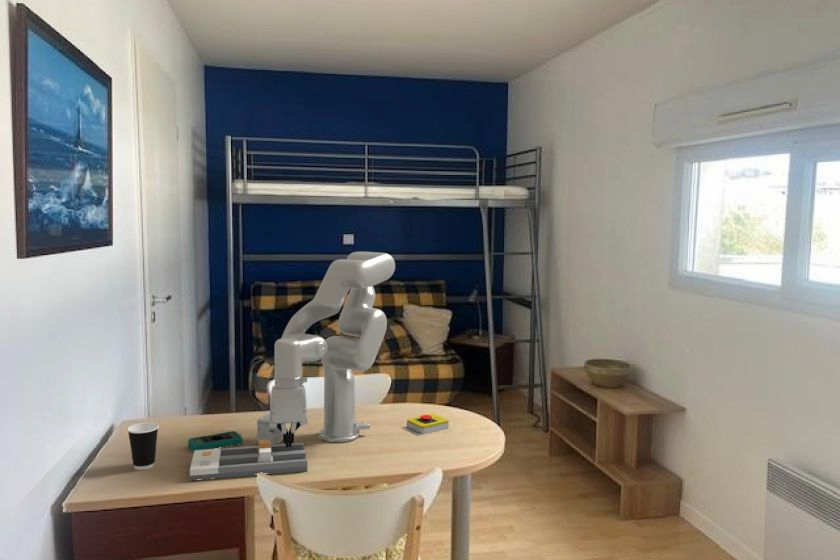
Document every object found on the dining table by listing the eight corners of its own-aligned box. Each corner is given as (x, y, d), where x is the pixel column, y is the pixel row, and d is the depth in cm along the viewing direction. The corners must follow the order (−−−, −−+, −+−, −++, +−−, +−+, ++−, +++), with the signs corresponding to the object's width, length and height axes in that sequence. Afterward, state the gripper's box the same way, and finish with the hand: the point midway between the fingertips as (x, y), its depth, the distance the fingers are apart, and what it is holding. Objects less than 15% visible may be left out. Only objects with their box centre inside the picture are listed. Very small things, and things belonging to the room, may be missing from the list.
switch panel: (303, 452, 186) (303, 441, 186) (307, 471, 172) (307, 459, 172) (194, 461, 178) (194, 449, 178) (190, 481, 165) (189, 469, 165)
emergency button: (401, 416, 209) (437, 408, 218) (401, 429, 209) (437, 421, 218) (418, 424, 201) (455, 415, 210) (418, 437, 202) (455, 428, 211)
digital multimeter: (244, 445, 192) (244, 435, 192) (194, 455, 184) (193, 445, 184) (236, 438, 198) (236, 429, 198) (187, 447, 190) (187, 437, 190)
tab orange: (271, 451, 182) (271, 438, 182) (272, 455, 178) (272, 442, 178) (257, 452, 181) (257, 439, 181) (257, 456, 177) (257, 444, 177)
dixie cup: (166, 464, 176) (165, 425, 175) (141, 474, 169) (140, 434, 168) (146, 458, 180) (145, 420, 178) (121, 468, 173) (120, 428, 172)
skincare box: (256, 443, 193) (256, 419, 193) (267, 436, 199) (267, 413, 198) (274, 445, 191) (274, 421, 191) (284, 438, 197) (284, 415, 196)
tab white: (272, 460, 175) (272, 447, 175) (273, 465, 172) (272, 452, 171) (257, 461, 174) (257, 448, 174) (257, 466, 171) (257, 453, 170)
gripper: (314, 377, 185) (313, 439, 187) (260, 380, 181) (261, 443, 183) (316, 384, 178) (316, 448, 179) (261, 387, 174) (261, 452, 176)
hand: (288, 445), depth 181 cm, fingers closed
